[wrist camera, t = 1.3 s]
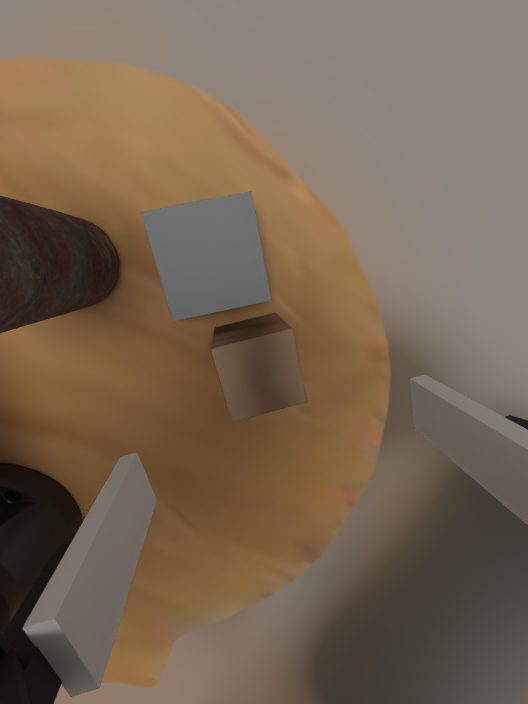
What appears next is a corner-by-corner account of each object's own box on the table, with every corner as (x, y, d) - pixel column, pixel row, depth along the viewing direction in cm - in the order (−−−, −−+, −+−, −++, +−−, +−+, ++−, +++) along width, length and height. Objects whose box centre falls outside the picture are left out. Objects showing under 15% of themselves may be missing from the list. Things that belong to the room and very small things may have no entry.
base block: (182, 312, 28) (172, 321, 23) (157, 222, 26) (140, 212, 21) (264, 295, 28) (271, 300, 24) (246, 205, 26) (251, 191, 21)
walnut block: (231, 383, 30) (232, 422, 23) (215, 327, 29) (210, 349, 21) (287, 368, 31) (307, 401, 23) (275, 312, 29) (292, 328, 21)
